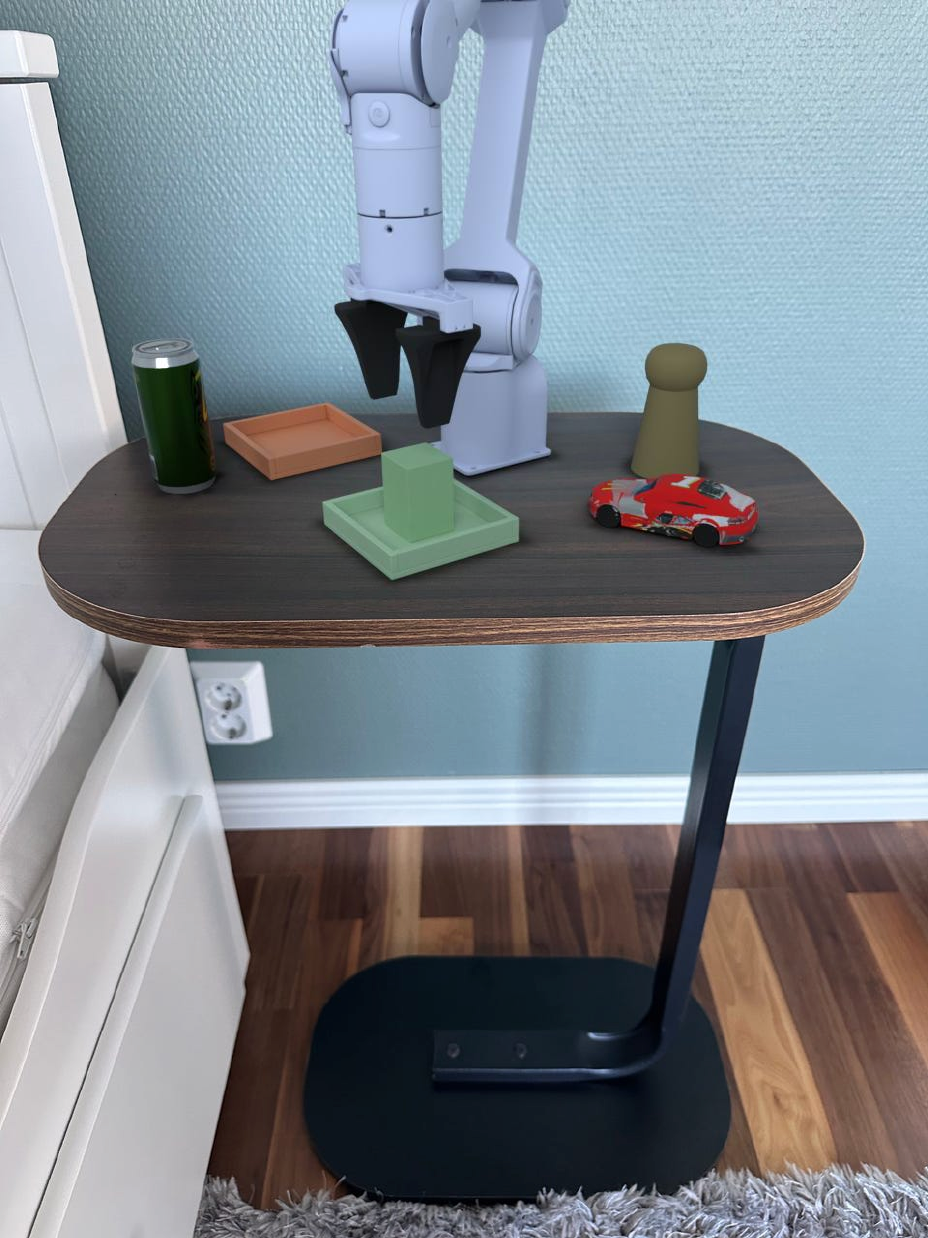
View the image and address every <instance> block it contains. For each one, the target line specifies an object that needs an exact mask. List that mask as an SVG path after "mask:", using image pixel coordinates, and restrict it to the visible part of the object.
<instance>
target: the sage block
mask: <svg viewBox="0 0 928 1238" xmlns="http://www.w3.org/2000/svg"><path fill="white" fill-rule="evenodd" d="M380 458H381V476H382V486H383V496H384V513H385V524H386V525H387V526H388V527H390V528H391V529H392V530H394V531H395V532H396V533H398V534H399V535H400V536H402V537H403V538H404V539H406V540H407V541H408V542H410V543H412V542H415V541H419V540H422V539H426V538H429V537H432V536H436V535H439V534H443V533H446V532H450V531H453V530H454V479H455V478H454V468H453V458H452V457H451V456H449V455H447V454H445V453H444V452H442V451H440V450H439V449H437V448H435V447H433V446H432V445H430V443H428V442H427V441H425V442H421V443H416V444H411V445H408V446H404V447H400V448H395V449H391V450H387V451H382V453H381V455H380ZM453 478H454V479H453Z"/></svg>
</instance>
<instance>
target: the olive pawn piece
mask: <svg viewBox="0 0 928 1238" xmlns="http://www.w3.org/2000/svg"><path fill="white" fill-rule="evenodd" d="M644 372H645V379H646V380H647V382H648V383H649V385H648V390H647V393H646V399H645V403H644V407H643V411H642V416H641V420H640V425H639V429H638V432H637V438H636V441H635V447H634V451H633V455H632V459H631V465H630V468H631V471H632V472H633V473H634V474H635V475H637V476H639V477H641V478H642V479H652V478H656V477H660V476H661V475H667V474H686V475H692V476H697V477H698V474H699V473H700V443H699V442H700V441H699V438H700V437H699V433H700V432H699V430H700V429H699V386H700V385H701V384H702V383H703V381H704V380H705V378H706V375H707V374H708V373H707V372H708V358H707V356H706V354H705V351H704V350H702V349H701V348H700V347H699V346H697V345H694V344H689V343H685V342H684V343H683V342H669V343H661V344H658V345H656V346H654V347H652V348H651V350H649V352H648V354H647V355H646V358H645V361H644Z"/></svg>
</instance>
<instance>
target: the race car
mask: <svg viewBox="0 0 928 1238" xmlns="http://www.w3.org/2000/svg"><path fill="white" fill-rule="evenodd" d="M588 503H589V505H588V507H589V512H590V515H592V517H594V518H595V519H596V518H597V519H598V522H599V524H600V525H601V526H603V527H605V528H609V529H610V528H615V527H617V526H618V525H619V524H620V526H621V527H627V528H632V529H637V530H641V531H645V532H651V533H657V534H662V535H666V536H670V537H675V538H681V539H686V540H692V539H694V541H695V543H696V544H697V545H698V546H700V547H702V548H712V547H714V546H716V544H717V543H719V545H720V546H728V545H729V546H730V545H737V544H742V543H744V542H746V541H749V540H750V538H751V537H752V535H753V534H754V533H755V530H756V528H757V527H758V524H757V522H758V518H759V514H758V512H757V505H756V504H757V503H756V500H755V499H754V498H753V497H751V496H750V495H748V494H745V493H743V492H740V491H737V490H736V489H734V488H732V487H730V486H729V485H726V484H723V483H720V482H717V481H715V480H713V479H709V478H705V477H701V476H698V475H697V476H692V475H686V474H667V475H661V476H660V477H656V478H652V479H647V478H616V479H611V480H608V481H604V482H601V483H599V484H597V485H596V486H595V487H594V488H593V489H592V492H591V494H590V495H589V498H588Z"/></svg>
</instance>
